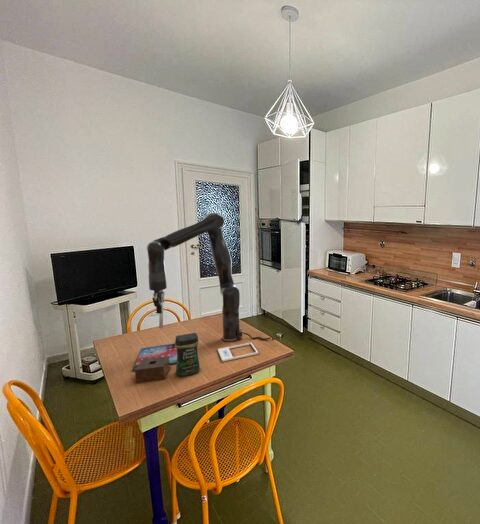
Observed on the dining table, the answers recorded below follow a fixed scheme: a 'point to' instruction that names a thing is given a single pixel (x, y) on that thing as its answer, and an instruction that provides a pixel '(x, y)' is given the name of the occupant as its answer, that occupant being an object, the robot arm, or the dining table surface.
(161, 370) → the holder
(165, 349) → the tablet
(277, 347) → the dining table surface
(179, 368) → the coffee jar
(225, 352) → the photo frame
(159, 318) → the stylus
